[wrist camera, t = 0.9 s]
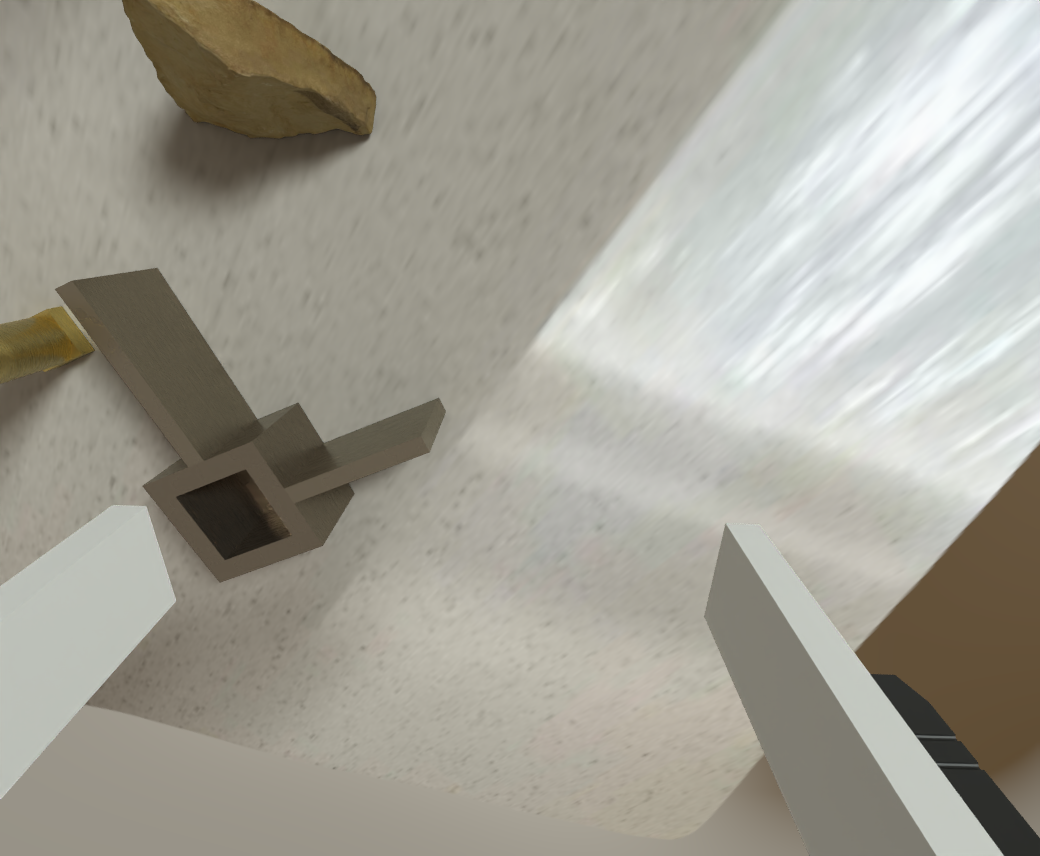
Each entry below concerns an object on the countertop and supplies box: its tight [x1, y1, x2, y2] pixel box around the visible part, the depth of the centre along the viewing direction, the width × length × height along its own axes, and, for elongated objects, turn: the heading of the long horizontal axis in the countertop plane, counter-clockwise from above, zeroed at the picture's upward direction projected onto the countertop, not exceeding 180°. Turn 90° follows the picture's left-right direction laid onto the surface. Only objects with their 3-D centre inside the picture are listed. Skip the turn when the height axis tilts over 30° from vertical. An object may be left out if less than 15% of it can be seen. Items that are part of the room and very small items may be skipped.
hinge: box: [55, 268, 446, 582], centre depth 34 cm, size 20×18×7 cm
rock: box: [122, 0, 376, 138], centre depth 28 cm, size 11×9×10 cm
